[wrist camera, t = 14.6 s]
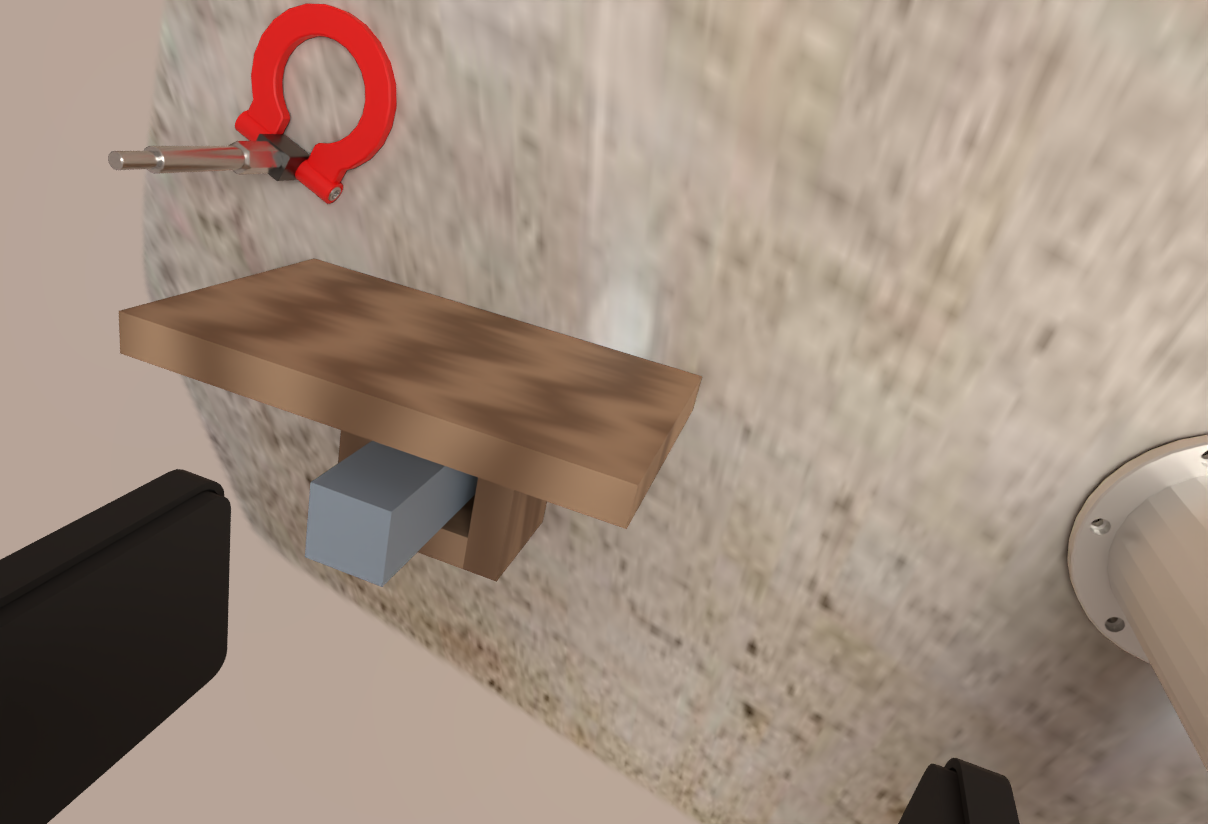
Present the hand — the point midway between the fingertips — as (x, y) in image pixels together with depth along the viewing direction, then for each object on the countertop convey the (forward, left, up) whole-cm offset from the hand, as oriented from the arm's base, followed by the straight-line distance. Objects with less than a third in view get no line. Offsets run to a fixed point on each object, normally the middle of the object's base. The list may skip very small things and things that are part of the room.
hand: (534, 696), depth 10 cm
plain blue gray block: (+14, +14, -31) cm, 37 cm away
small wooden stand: (+14, +14, -33) cm, 39 cm away
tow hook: (+26, -2, -34) cm, 43 cm away
